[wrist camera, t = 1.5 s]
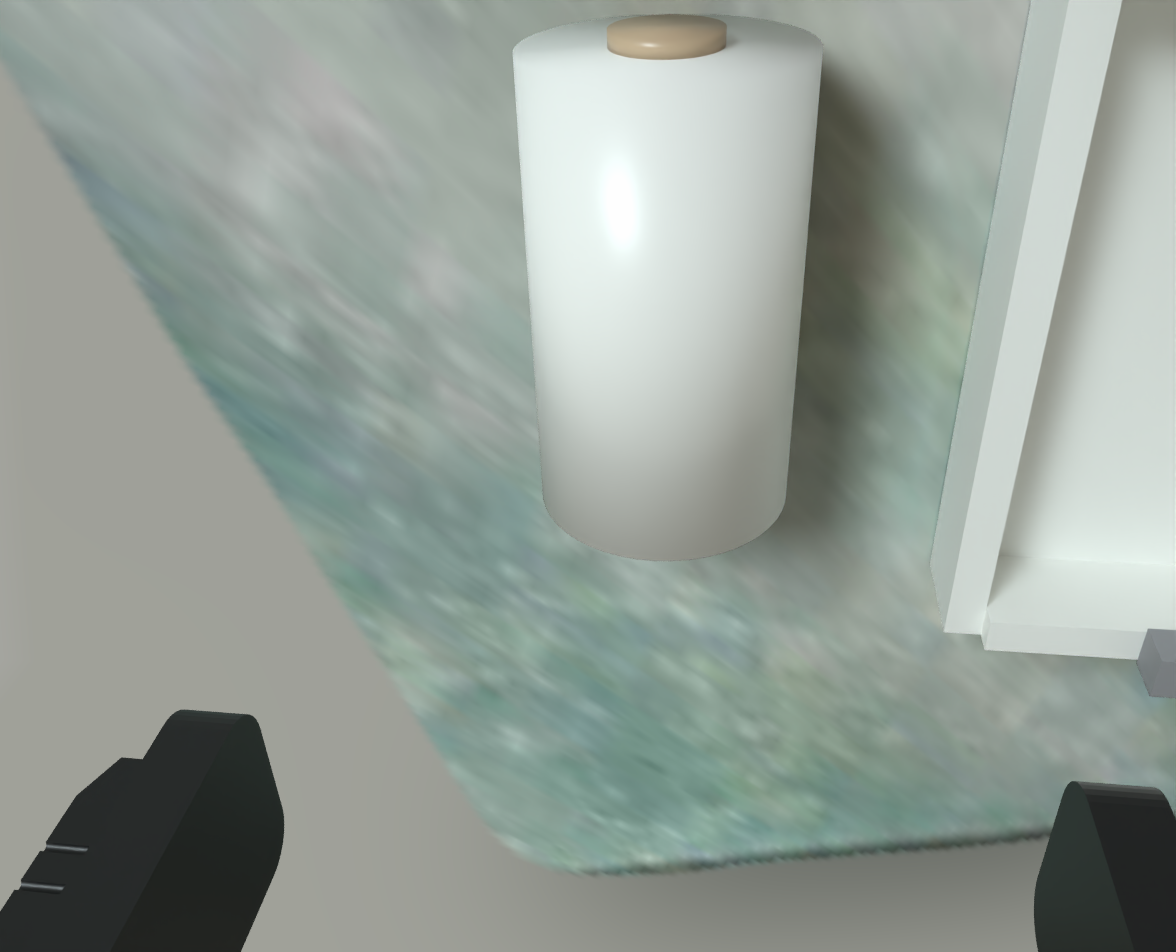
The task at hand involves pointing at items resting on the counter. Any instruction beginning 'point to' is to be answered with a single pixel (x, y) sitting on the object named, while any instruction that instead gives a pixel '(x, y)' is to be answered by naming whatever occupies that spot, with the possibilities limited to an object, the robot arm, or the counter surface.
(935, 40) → the counter surface
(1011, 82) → the counter surface
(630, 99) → the paper roll
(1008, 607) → the holder
